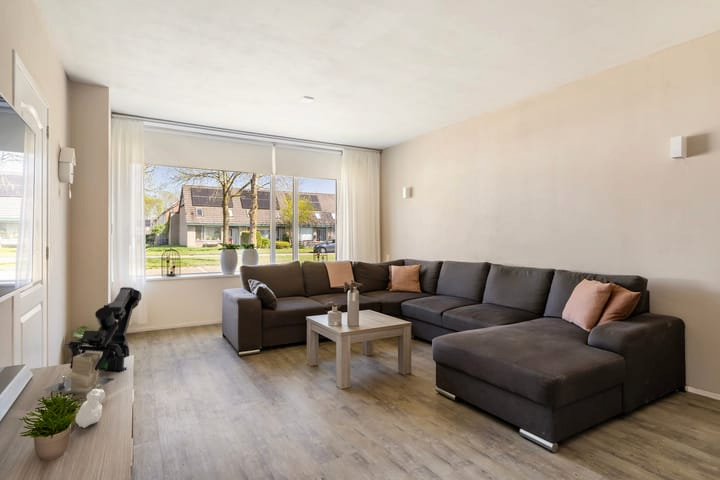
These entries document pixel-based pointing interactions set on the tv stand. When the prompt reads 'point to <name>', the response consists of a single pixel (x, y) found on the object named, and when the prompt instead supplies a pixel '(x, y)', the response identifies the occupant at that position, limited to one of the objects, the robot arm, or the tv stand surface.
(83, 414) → the bust
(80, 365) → the sleeve
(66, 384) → the peg plate
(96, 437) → the tv stand surface
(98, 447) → the tv stand surface
